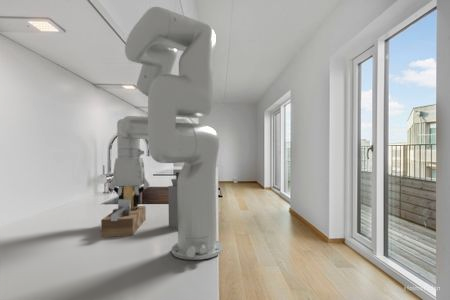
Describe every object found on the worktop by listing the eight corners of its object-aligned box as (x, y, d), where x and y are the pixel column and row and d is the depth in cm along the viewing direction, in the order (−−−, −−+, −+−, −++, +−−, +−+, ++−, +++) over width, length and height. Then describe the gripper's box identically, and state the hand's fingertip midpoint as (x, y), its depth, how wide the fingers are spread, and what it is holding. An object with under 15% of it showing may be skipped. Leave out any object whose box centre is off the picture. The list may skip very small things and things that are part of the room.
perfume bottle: (197, 224, 95) (196, 171, 95) (184, 229, 89) (183, 173, 89) (182, 222, 99) (181, 171, 99) (168, 226, 93) (168, 172, 93)
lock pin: (120, 220, 81) (120, 205, 81) (107, 221, 81) (107, 205, 81) (130, 211, 93) (130, 198, 93) (119, 212, 93) (119, 199, 93)
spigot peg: (134, 213, 97) (133, 184, 97) (122, 213, 96) (121, 184, 96) (136, 210, 101) (136, 183, 101) (125, 211, 100) (124, 183, 100)
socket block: (132, 235, 84) (132, 212, 84) (101, 236, 83) (101, 213, 83) (145, 219, 104) (145, 200, 104) (120, 220, 103) (120, 201, 103)
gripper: (154, 153, 103) (155, 203, 103) (107, 154, 102) (108, 204, 101) (151, 153, 96) (151, 207, 95) (100, 154, 94) (101, 209, 94)
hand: (129, 205), depth 98 cm, fingers closed on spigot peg, 4 cm apart
